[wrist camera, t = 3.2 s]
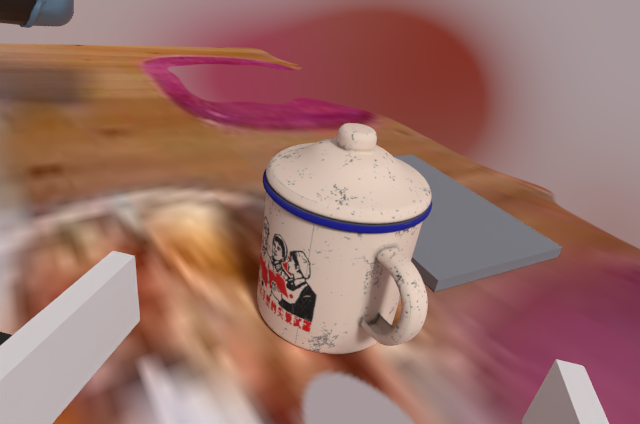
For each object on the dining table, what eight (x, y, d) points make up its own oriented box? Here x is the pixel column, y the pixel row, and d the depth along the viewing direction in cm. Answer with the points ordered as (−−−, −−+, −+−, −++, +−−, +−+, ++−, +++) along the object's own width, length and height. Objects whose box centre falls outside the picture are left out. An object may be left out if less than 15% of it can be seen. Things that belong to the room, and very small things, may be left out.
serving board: (306, 171, 45) (307, 162, 44) (410, 162, 51) (412, 154, 51) (434, 291, 30) (438, 280, 30) (557, 257, 37) (562, 247, 36)
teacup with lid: (233, 274, 29) (243, 100, 23) (350, 253, 33) (382, 101, 27) (311, 431, 20) (358, 210, 14) (458, 375, 24) (540, 186, 18)
